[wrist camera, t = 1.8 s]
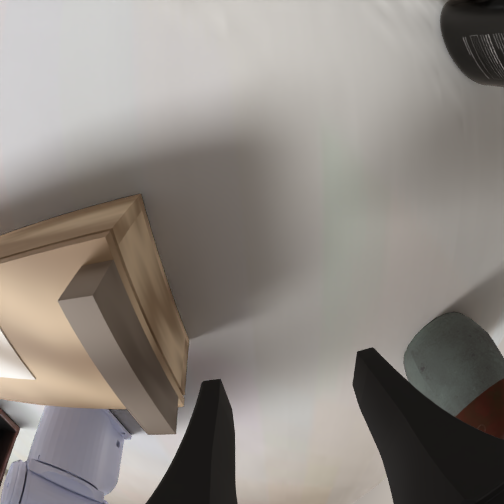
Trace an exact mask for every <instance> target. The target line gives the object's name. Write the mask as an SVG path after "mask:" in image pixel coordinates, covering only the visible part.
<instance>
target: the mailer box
mask: <svg viewBox="0 0 504 504" xmlns="http://www.w3.org/2000/svg"><path fill="white" fill-rule="evenodd" d="M107 231H110V232H111V235H112V238H113V240H114V243H115V246H116V249H117V252H118V254H119V257H120V260H121V263H122V265H123V268H124V270H125V273H126V276H127V278H128V281H129V283H130V286H131V288H132V291H133V293H134V295H135V298H136V300H137V303H138V305H139V307H140V310H141V312H142V314H143V317H144V319H145V321H146V323H147V325H148V328H149V330H150V332H151V334H152V336H153V338H154V341H155V343H156V345H157V347H158V349H159V351H160V353H161V355H162V357H163V359H164V361H165V363H166V365H167V367H168V369H169V371H170V373H171V375H172V377H173V379H174V381H175V382H176V384H177V386H178V388H179V390H180V392H181V394H182V395H185V384H186V371H187V358H188V347H189V339H188V336H187V334H186V331H185V328H184V326H183V323H182V320H181V318H180V315H179V312H178V310H177V307H176V304H175V301H174V298H173V296H172V293H171V290H170V287H169V284H168V281H167V278H166V275H165V272H164V269H163V266H162V263H161V260H160V257H159V254H158V250H157V247H156V244H155V241H154V237H153V234H152V231H151V227H150V224H149V221H148V217H147V214H146V210H145V207H144V203H143V199H142V196H141V194H137V195H133V196H129V197H125V198H121V199H117V200H113V201H109V202H106V203H102V204H98V205H95V206H91V207H87V208H84V209H80V210H77V211H74V212H70V213H67V214H64V215H60V216H57V217H54V218H51V219H47V220H44V221H41V222H38V223H35V224H32V225H29V226H26V227H23V228H20V229H17V230H15V231H12V232H9V233H6V234H3V235H1V236H0V260H1V259H4V258H8V257H11V256H15V255H18V254H22V253H25V252H29V251H32V250H36V249H40V248H43V247H47V246H51V245H55V244H59V243H62V242H66V241H70V240H74V239H78V238H82V237H86V236H90V235H94V234H99V233H103V232H107Z"/></svg>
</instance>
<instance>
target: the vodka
mask: <svg viewBox="0 0 504 504" xmlns="http://www.w3.org/2000/svg"><path fill="white" fill-rule="evenodd" d="M404 367H405V372H406V376H407V378H408V381H409V382H410V383H411V384H412V385H413V386H414V387H415V388H416V389H418V390H419V391H420V392H421V393H422V394H424V395H425V396H426V397H427V398H429V399H430V400H431V401H433V402H434V403H435V404H437V405H438V406H439V407H441V408H442V409H444V410H445V411H447V412H448V413H450V414H451V415H453V416H455V417H456V418H458V419H460V420H461V421H463V422H465V423H467V424H469V425H471V426H473V427H475V428H477V429H479V430H481V431H483V432H485V433H487V434H490V435H492V436H495V437H497V438H500V439H503V440H504V358H503V356H502V354H501V353H500V351H499V349H498V348H497V346H496V345H495V343H494V341H493V340H492V338H491V337H490V336H489V334H488V333H487V332H486V331H485V330H484V329H482V328H481V327H480V326H479V325H478V324H477V323H475V322H474V321H473V320H472V319H470V318H468V317H467V316H465V315H463V314H461V313H457V312H452V313H447V314H444V315H442V316H440V317H438V318H436V319H434V320H433V321H432V322H430V323H429V324H428V325H426V326H425V327H424V328H423V329H422V330H421V331H420V332H419V333H418V334H417V335H416V336H415V337H414V339H413V340H412V341H411V343H410V344H409V346H408V348H407V350H406V352H405V355H404Z"/></svg>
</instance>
